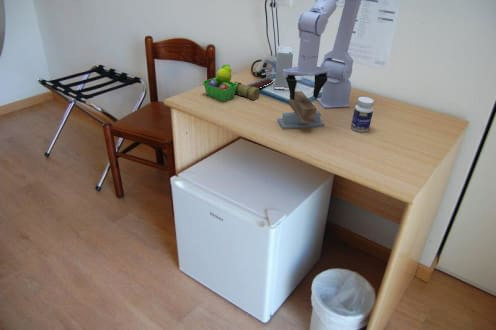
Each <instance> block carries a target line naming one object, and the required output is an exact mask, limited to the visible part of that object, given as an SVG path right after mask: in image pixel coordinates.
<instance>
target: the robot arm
mask: <svg viewBox="0 0 496 330" xmlns="http://www.w3.org/2000/svg"><path fill="white" fill-rule="evenodd" d="M338 1H339V0H316V2H315V3H314V4H313V5H312V6H311V8H310V9H309V10H306V11H304V12H302V13H301V14H300V16H299V19H298V22H297V29H298V38H299V40H300V41H299V51H298V60H297V61H298V62H297V66H295V67H292V68H289V69H283V77H284V78H286V80H287V83H288V87H289V91H288V92H289V99H290V98H291V99H292V100H294V98H295V91H296V89H297V88H296V87H297V83H298V80H297V79H296V77H305V76H308V77H314V86H313V92H312V93H313V94H312V96H313V98H314V99H316V100H317V101H318V103H319V104H320V105H321V106H322V107H323V109H333V108H348V107H350V103H349V101H350V97H351V92H352V84H351V81H350V78H351V76H352V73H353V64H354V60H353V58H352V56H351V55H350V54H349V53H348V51H349V48H350V43H351V40H352V36H353V32H354V28H355V25H356V21H357V18H358V13H359V10H360V6H361V3H362V1H363V0H344V5H343V8H342V12H341V17H340V20H339V24H338V28H337V32H336V35H335V40H334V44H333V48H332V50H330V51H329V52H327V53H325V54H324V56H323V59H322V61H321V63H320V65H319V66H318V60H319V53H320V46H321V39H322V38H321V37H322V34H323V33H324V31H325V29H326V26H328V25H327V24H328V22H329V19H330V17H331V16H332V15H333V13H335V11H336V9H337V2H338ZM320 92H321V97H319V95H320Z"/></svg>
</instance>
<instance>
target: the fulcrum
mask: <svg viewBox="0 0 496 330" xmlns="http://www.w3.org/2000/svg"><path fill="white" fill-rule="evenodd" d="M321 115H322V114H321V112H320V111H319V110H316V116H315V122H308V123H302V122H301V120H300V119H299V117H298V116H297V115H296V113H295V112H294V111H293V112H282V118H281V117H280V118H277V122H278V124H279V125H280V127H282V128H281V129H282V130H291V129H292V130H293V129H305V128H306V129H307V128H318V127H321V128H322V127H325V126H326V125H325V123H324V122H323V120H322V119H321Z"/></svg>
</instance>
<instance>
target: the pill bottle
mask: <svg viewBox="0 0 496 330" xmlns="http://www.w3.org/2000/svg"><path fill="white" fill-rule="evenodd" d="M373 105H374V99H373V98H370V97H367V96H359V97H358V99H357V104H356V105H355V106H354V110H353V115H352V120H351V124H350V125H351V129H352V130H353V131H355V132H359V133H366V132H368V131H369V130H370V126H371V123H372V119H373V113H374V107H373Z"/></svg>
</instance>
